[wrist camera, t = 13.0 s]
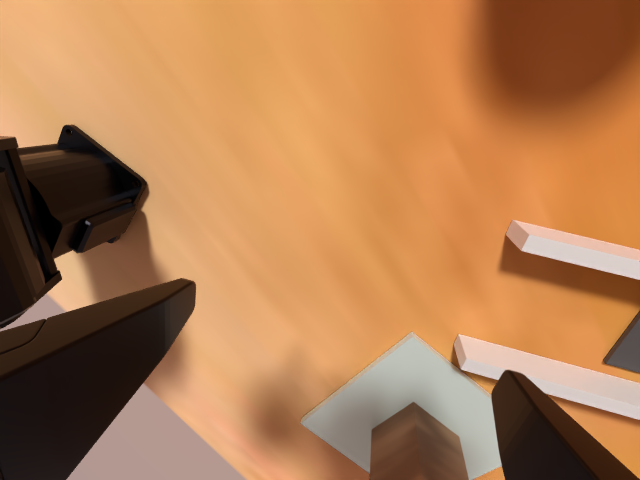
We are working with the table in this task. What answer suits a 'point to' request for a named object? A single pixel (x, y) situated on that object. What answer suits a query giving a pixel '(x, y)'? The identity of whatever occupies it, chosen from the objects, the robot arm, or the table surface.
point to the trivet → (398, 392)
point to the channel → (551, 375)
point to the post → (415, 448)
